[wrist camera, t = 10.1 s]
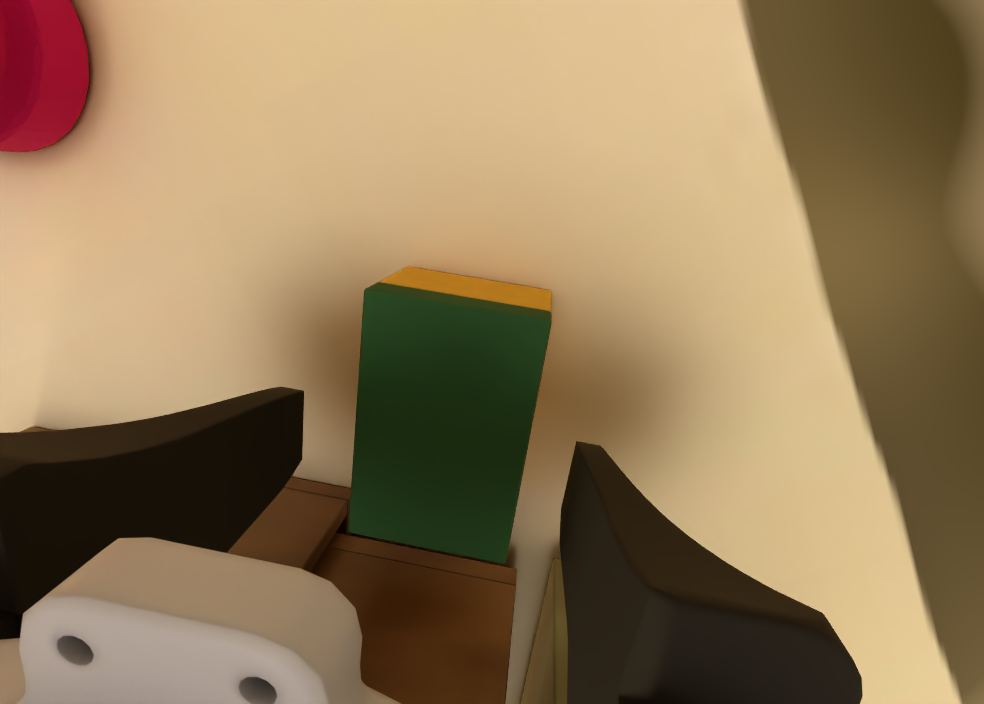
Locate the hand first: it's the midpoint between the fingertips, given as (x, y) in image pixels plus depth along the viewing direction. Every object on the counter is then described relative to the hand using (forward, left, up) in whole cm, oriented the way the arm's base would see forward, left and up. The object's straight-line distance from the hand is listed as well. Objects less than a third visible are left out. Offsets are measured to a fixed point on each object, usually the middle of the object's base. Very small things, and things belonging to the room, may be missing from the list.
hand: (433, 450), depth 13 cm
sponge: (0, 0, -5) cm, 5 cm away
